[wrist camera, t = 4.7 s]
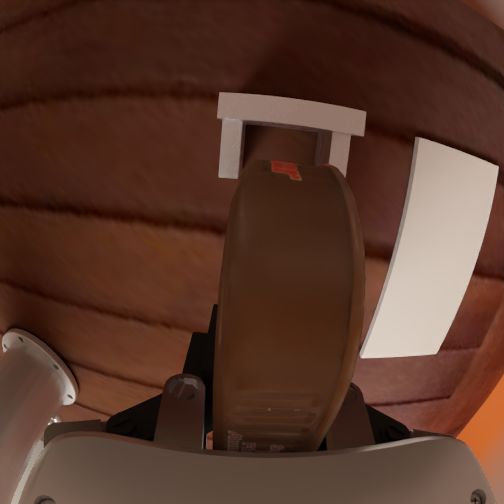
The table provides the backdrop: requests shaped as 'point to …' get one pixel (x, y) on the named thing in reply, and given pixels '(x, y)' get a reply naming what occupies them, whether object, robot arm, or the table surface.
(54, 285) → the table surface
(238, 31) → the table surface
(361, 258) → the tin
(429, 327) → the mat
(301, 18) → the table surface
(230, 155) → the end brackets
